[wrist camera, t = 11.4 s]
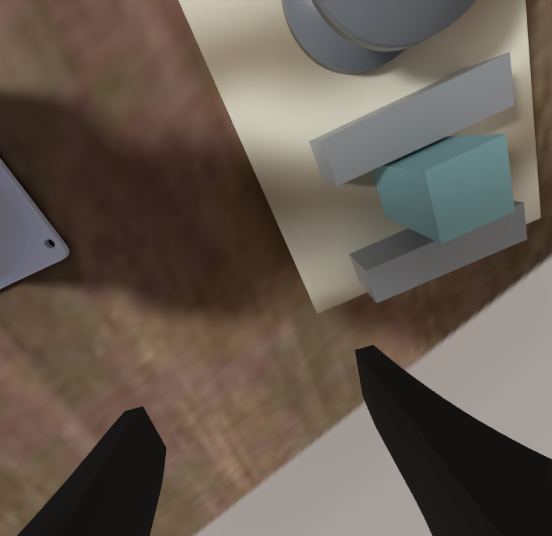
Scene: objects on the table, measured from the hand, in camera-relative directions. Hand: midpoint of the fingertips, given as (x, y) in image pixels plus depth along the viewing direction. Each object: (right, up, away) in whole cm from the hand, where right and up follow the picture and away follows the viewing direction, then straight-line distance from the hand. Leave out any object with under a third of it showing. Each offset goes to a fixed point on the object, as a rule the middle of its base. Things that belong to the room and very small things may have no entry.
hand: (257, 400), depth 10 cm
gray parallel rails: (+8, +9, +6) cm, 13 cm away
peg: (+7, +9, +6) cm, 13 cm away
